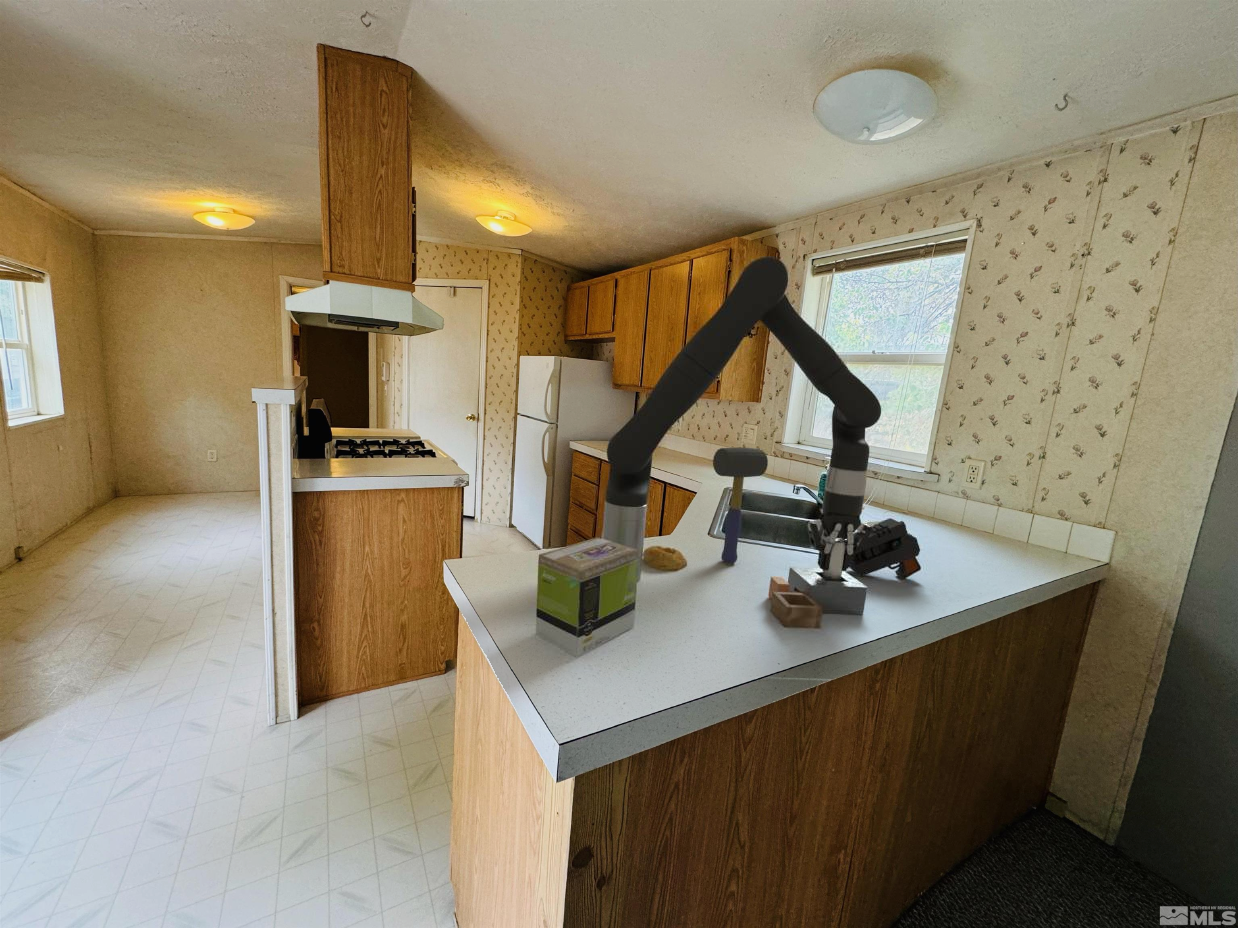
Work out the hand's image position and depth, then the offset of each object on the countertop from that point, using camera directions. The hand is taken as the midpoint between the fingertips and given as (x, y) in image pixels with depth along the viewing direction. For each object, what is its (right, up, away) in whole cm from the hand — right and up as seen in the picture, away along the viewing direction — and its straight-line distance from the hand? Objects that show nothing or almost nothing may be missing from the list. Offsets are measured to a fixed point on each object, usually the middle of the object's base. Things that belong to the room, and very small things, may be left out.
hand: (832, 569), depth 104 cm
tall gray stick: (-1, -8, +1) cm, 8 cm away
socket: (-1, -8, +1) cm, 8 cm away
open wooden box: (-11, -8, -8) cm, 16 cm away
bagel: (-34, -3, +17) cm, 38 cm away
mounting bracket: (+36, -5, +41) cm, 55 cm away
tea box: (-51, -7, -19) cm, 55 cm away
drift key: (-8, -7, 0) cm, 11 cm away
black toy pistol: (+23, -8, +21) cm, 33 cm away
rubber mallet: (-17, -3, +21) cm, 28 cm away
